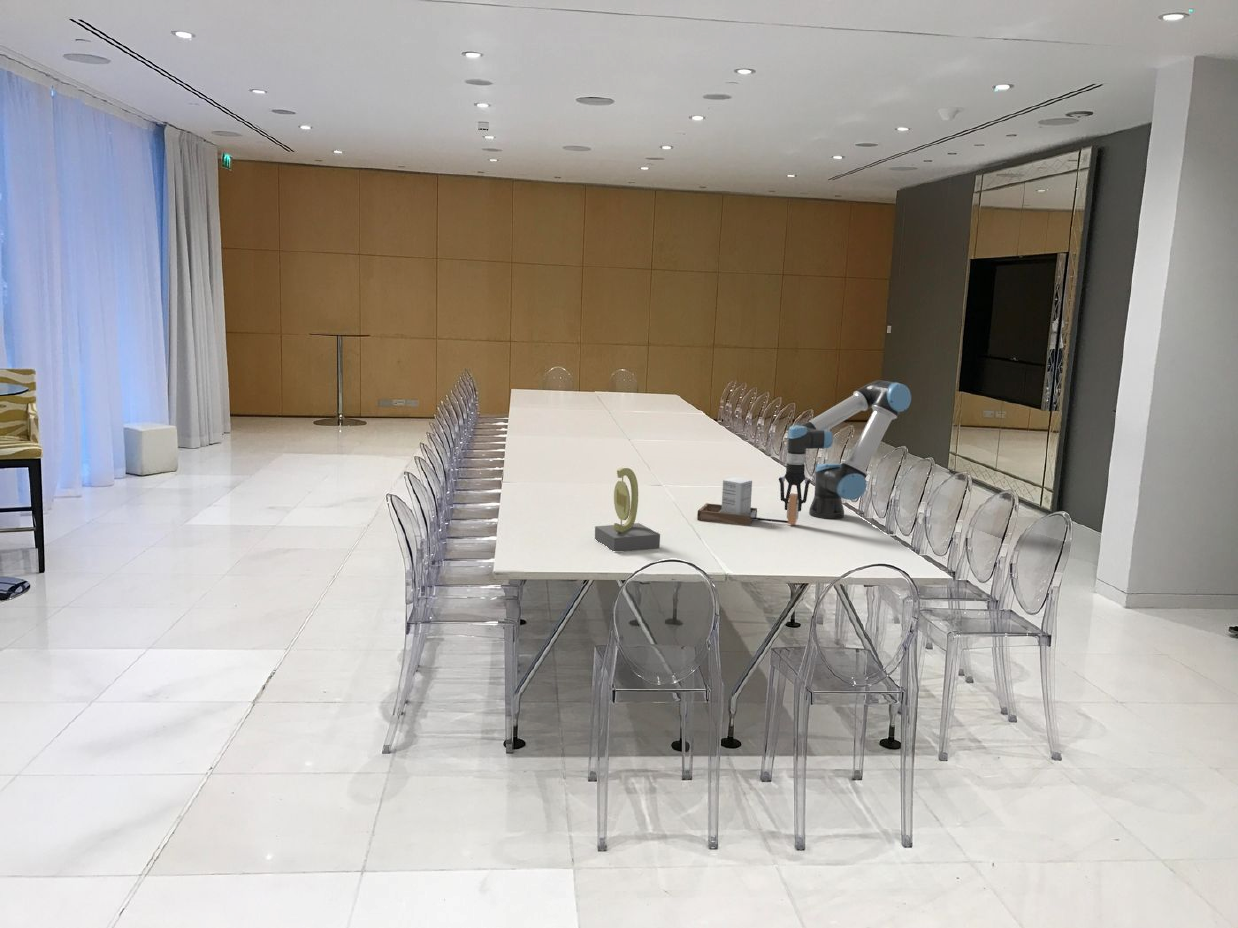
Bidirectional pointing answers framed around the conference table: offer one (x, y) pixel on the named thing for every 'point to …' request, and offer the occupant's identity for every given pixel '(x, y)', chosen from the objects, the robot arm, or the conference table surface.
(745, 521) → the tray
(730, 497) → the supplement box
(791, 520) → the pusher tool
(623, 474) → the trophy
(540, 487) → the conference table surface
